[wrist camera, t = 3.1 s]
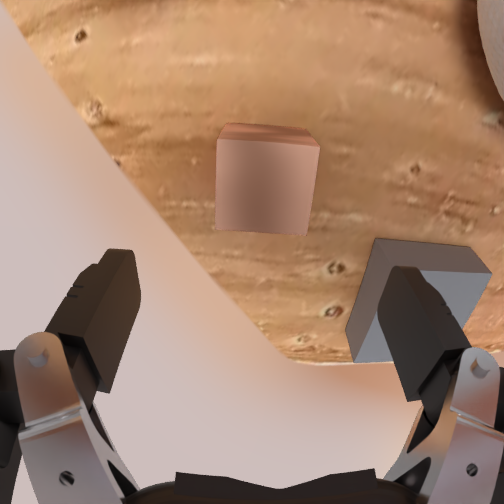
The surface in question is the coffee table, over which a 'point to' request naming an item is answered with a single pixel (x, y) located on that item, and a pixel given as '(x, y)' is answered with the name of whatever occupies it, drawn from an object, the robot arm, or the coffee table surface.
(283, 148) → the terracotta cube
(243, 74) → the coffee table surface
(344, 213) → the coffee table surface
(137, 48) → the coffee table surface
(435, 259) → the slate base
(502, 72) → the cereal bowl
